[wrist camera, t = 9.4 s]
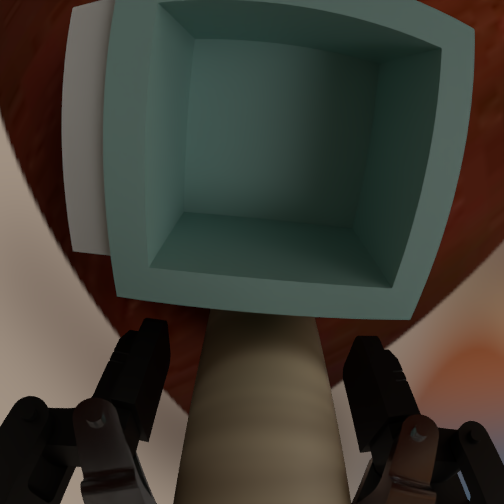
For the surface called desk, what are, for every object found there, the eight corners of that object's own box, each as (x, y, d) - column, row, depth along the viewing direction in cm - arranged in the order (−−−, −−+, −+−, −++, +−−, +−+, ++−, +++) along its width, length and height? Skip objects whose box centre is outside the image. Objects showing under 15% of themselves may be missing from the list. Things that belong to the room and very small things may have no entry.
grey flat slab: (135, 35, 8) (72, 7, 4) (175, 32, 8) (127, -5, 4) (129, 201, 10) (73, 251, 7) (165, 203, 10) (120, 256, 7)
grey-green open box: (176, 22, 7) (121, -27, 3) (394, 50, 8) (474, 29, 4) (165, 224, 11) (117, 296, 7) (361, 243, 11) (409, 319, 7)
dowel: (211, 261, 11) (151, 517, 3) (318, 268, 11) (385, 515, 3) (212, 341, 13) (181, 542, 5) (301, 345, 13) (326, 545, 5)
